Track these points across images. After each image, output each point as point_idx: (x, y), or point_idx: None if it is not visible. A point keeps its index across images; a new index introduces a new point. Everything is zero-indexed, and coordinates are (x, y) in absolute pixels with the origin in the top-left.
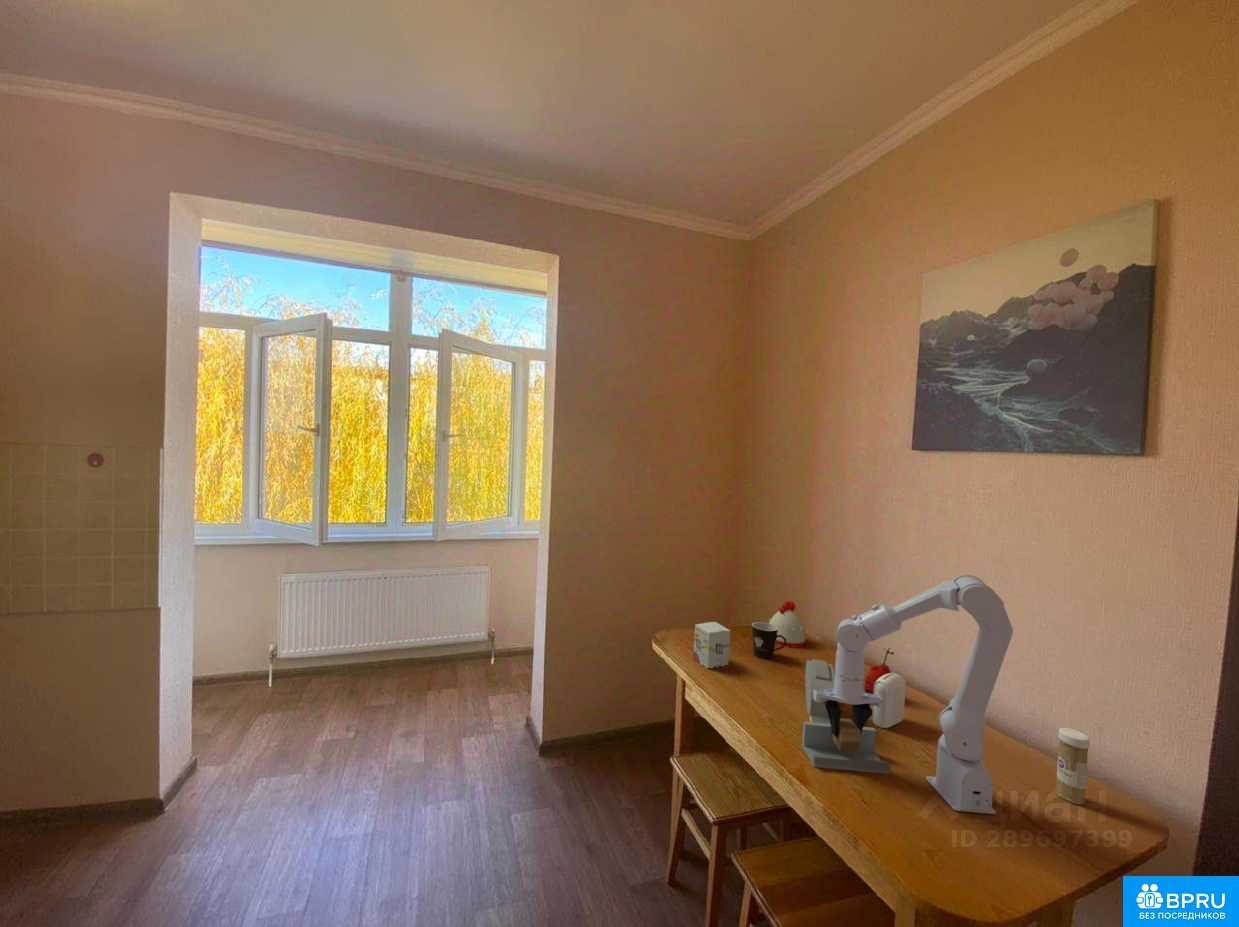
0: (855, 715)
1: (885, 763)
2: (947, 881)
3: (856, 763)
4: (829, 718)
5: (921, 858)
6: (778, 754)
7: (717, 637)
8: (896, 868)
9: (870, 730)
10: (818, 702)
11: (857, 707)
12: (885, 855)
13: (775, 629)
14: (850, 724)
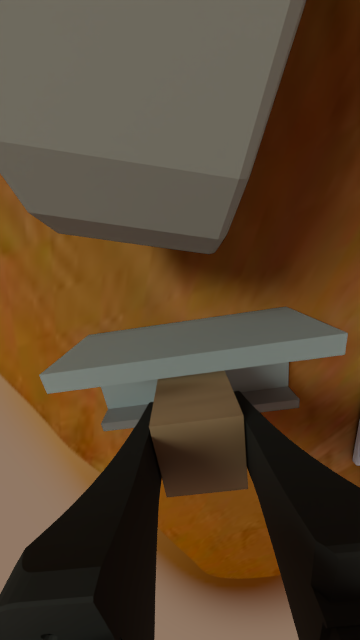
0: (266, 489)
1: (285, 408)
2: (245, 557)
3: None
4: (126, 442)
5: (231, 540)
6: (31, 388)
7: None
8: (191, 555)
9: (319, 356)
10: (91, 227)
11: (305, 608)
12: (185, 545)
13: None
14: (220, 459)
